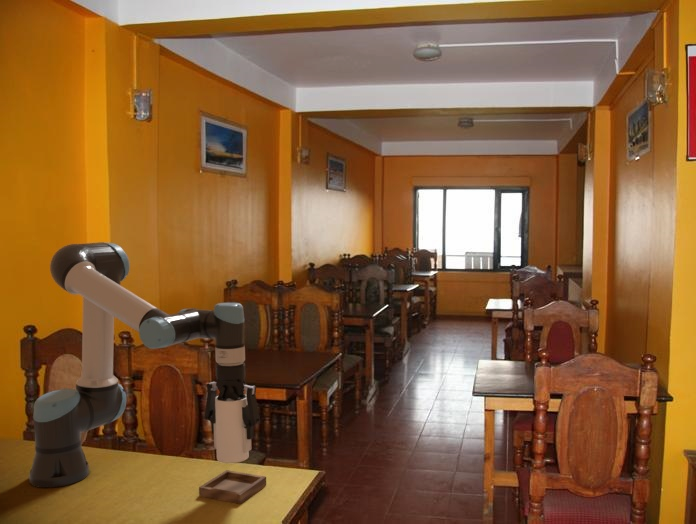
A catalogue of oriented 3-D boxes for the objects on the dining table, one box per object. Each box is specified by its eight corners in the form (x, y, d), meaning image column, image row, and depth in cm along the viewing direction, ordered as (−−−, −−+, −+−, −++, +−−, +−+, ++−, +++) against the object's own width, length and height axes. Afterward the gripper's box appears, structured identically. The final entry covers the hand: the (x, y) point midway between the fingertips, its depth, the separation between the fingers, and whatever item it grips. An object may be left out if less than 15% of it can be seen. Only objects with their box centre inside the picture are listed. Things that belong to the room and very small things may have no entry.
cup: (210, 460, 169) (208, 399, 168) (230, 450, 176) (228, 391, 175) (235, 465, 165) (234, 402, 164) (255, 454, 173) (253, 394, 172)
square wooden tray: (199, 496, 168) (199, 487, 168) (226, 478, 180) (226, 470, 180) (240, 503, 163) (240, 494, 163) (266, 485, 175) (266, 476, 175)
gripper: (188, 362, 170) (190, 448, 171) (257, 369, 162) (260, 458, 163) (205, 357, 177) (207, 439, 178) (273, 362, 169) (275, 449, 170)
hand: (232, 448), depth 171 cm, fingers closed on cup, 8 cm apart
